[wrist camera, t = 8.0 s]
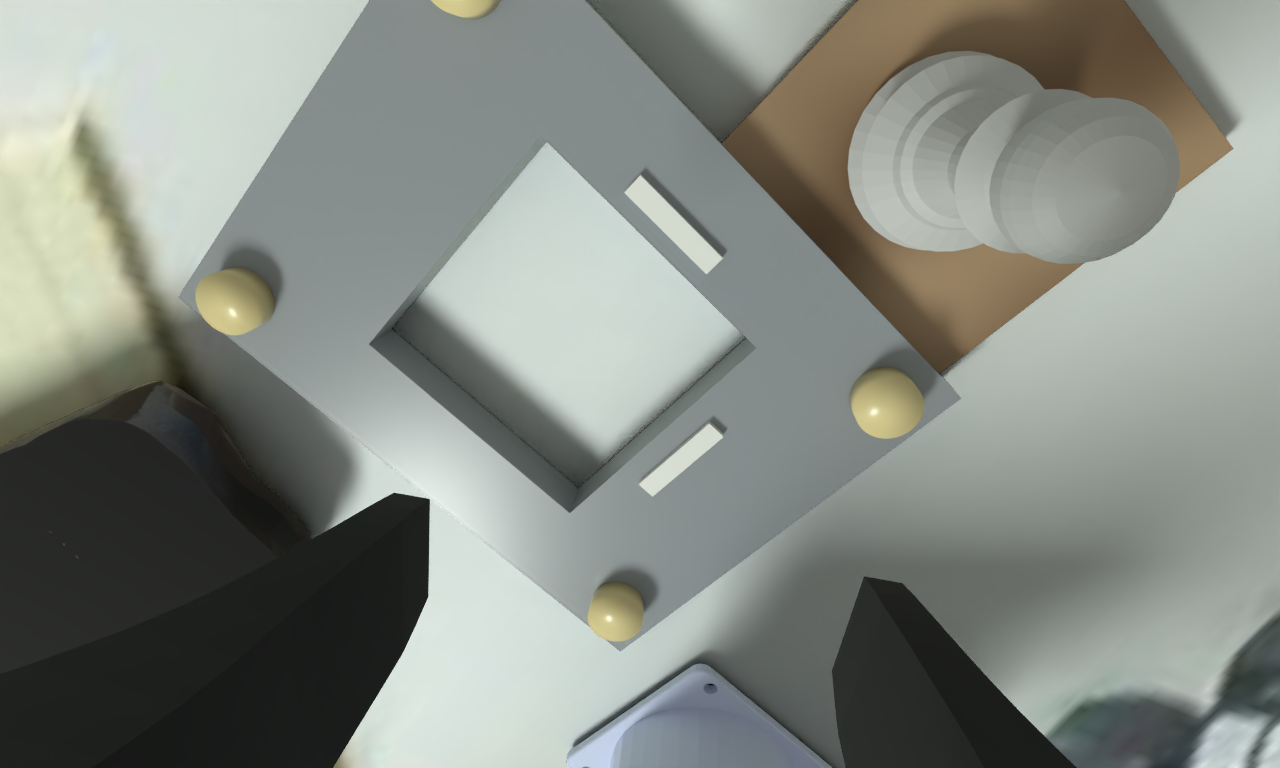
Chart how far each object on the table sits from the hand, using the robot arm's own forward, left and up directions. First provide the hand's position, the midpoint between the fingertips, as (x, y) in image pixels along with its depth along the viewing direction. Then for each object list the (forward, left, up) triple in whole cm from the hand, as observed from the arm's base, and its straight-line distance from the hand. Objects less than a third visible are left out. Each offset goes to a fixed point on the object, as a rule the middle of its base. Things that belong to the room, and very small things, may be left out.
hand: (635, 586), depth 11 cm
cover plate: (+3, +1, -10) cm, 11 cm away
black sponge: (+10, +20, -11) cm, 25 cm away
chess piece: (-1, -9, -10) cm, 13 cm away
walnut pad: (-1, -10, -10) cm, 14 cm away
